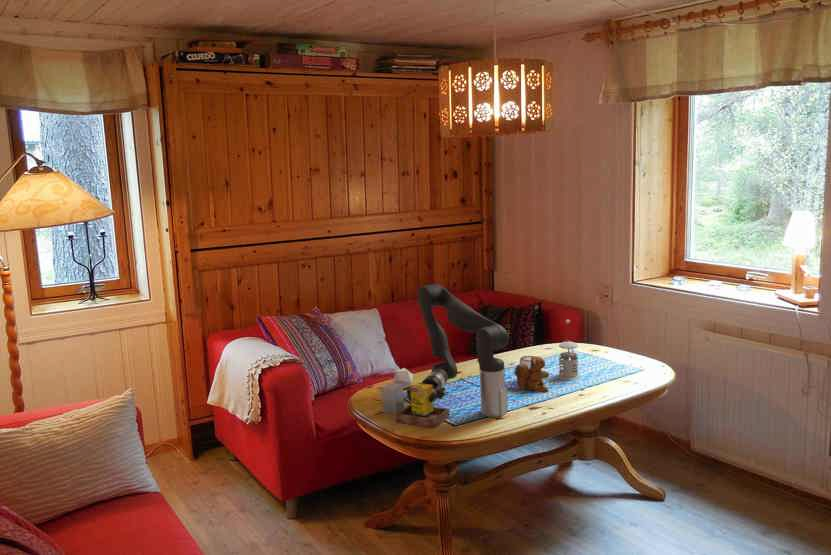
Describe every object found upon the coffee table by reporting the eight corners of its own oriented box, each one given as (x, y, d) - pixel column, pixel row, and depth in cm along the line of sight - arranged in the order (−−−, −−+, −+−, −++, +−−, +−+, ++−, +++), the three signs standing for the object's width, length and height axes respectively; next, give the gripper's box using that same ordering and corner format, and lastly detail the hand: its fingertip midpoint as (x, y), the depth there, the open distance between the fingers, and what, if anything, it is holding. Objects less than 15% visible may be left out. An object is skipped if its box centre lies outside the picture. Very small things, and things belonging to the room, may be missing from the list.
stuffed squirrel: (549, 392, 284) (549, 360, 281) (514, 392, 286) (513, 361, 284) (548, 384, 293) (548, 353, 291) (514, 384, 296) (513, 354, 293)
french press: (555, 379, 299) (554, 321, 295) (559, 371, 310) (558, 315, 306) (578, 380, 296) (578, 322, 292) (582, 372, 307) (581, 316, 302)
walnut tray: (449, 416, 263) (449, 408, 263) (435, 427, 253) (434, 419, 253) (412, 411, 271) (411, 403, 270) (396, 422, 261) (396, 414, 260)
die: (416, 390, 297) (418, 369, 301) (400, 385, 292) (402, 363, 296) (403, 393, 302) (405, 372, 307) (388, 388, 297) (390, 366, 302)
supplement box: (411, 415, 261) (410, 387, 259) (420, 409, 266) (419, 382, 264) (424, 417, 258) (423, 389, 256) (433, 412, 263) (432, 384, 261)
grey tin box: (404, 409, 274) (402, 384, 272) (396, 414, 269) (395, 389, 267) (390, 407, 277) (389, 382, 275) (383, 412, 271) (381, 387, 270)
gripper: (415, 374, 276) (401, 388, 260) (450, 375, 271) (438, 390, 256) (416, 392, 277) (402, 407, 262) (451, 394, 272) (439, 410, 257)
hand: (420, 399), depth 259 cm, fingers closed on supplement box, 7 cm apart
